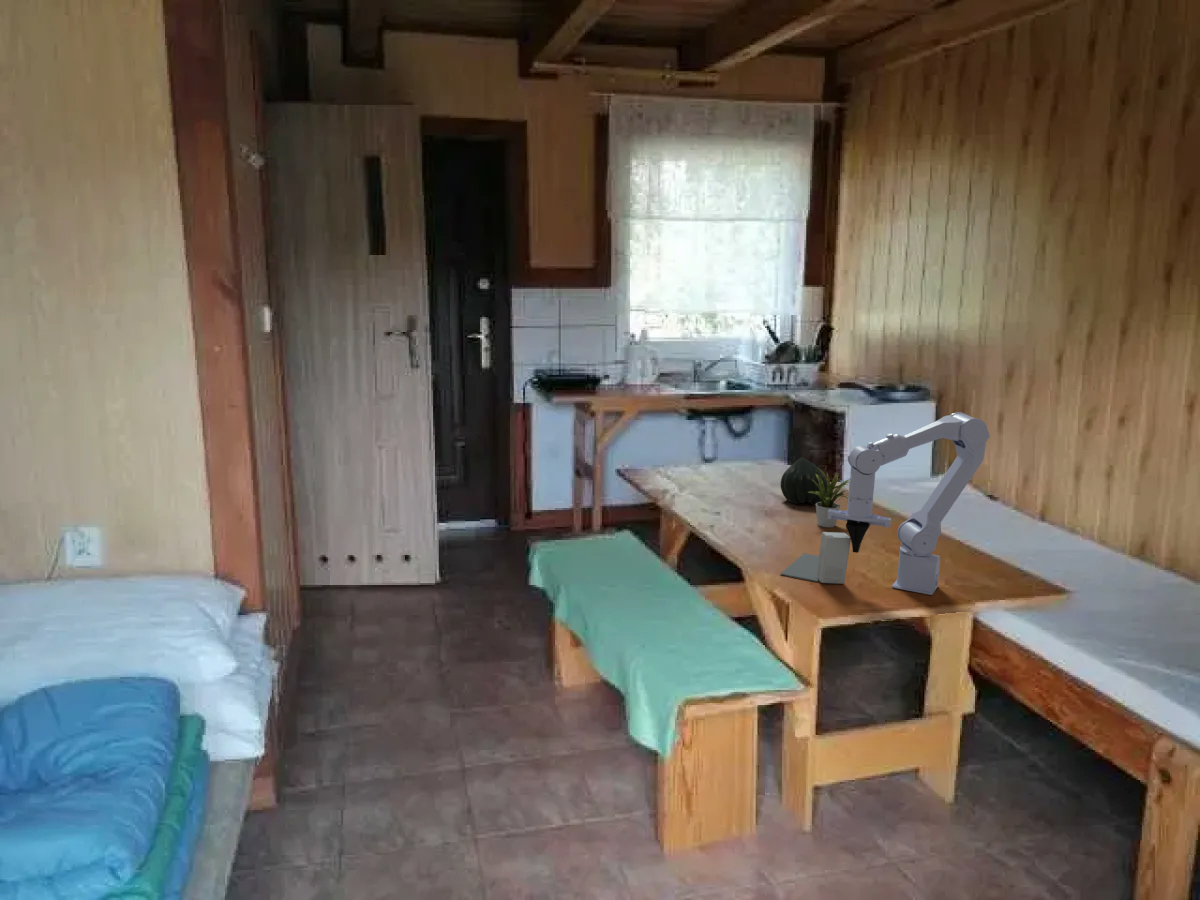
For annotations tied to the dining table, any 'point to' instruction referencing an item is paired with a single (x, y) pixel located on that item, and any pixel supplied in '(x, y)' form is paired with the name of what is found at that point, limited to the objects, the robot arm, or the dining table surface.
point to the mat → (803, 568)
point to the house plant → (827, 500)
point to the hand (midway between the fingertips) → (855, 551)
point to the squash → (802, 482)
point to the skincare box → (833, 557)
